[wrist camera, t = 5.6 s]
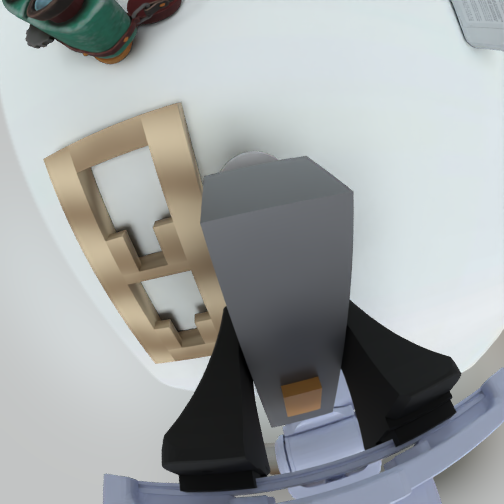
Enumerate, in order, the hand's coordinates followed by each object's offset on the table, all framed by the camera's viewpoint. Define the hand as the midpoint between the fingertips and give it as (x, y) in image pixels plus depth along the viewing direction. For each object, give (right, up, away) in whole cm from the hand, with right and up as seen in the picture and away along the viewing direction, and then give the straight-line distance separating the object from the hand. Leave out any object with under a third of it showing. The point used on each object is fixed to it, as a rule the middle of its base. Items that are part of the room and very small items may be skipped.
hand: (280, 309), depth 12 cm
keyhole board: (-9, +2, +9) cm, 13 cm away
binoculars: (-10, +20, -2) cm, 22 cm away
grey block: (0, +2, +2) cm, 3 cm away
